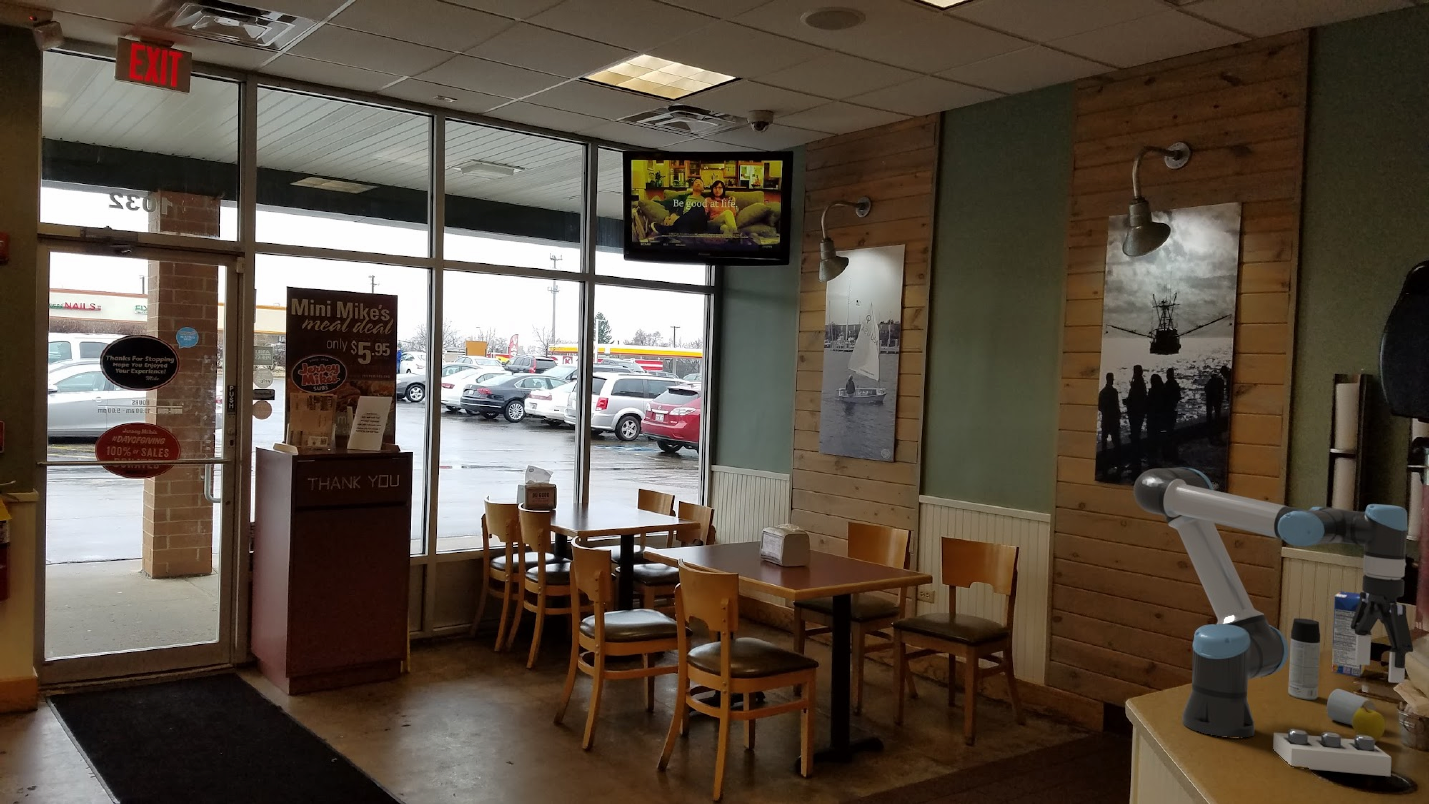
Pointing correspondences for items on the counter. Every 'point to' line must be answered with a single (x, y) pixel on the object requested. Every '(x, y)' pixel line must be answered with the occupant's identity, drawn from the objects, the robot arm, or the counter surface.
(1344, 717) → the ceramic mug
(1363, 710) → the apple
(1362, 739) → the knob
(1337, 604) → the beverage box
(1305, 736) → the knob
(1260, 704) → the counter surface
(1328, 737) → the knob mid
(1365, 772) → the console
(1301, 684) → the spray can
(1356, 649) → the robot arm
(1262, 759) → the counter surface
